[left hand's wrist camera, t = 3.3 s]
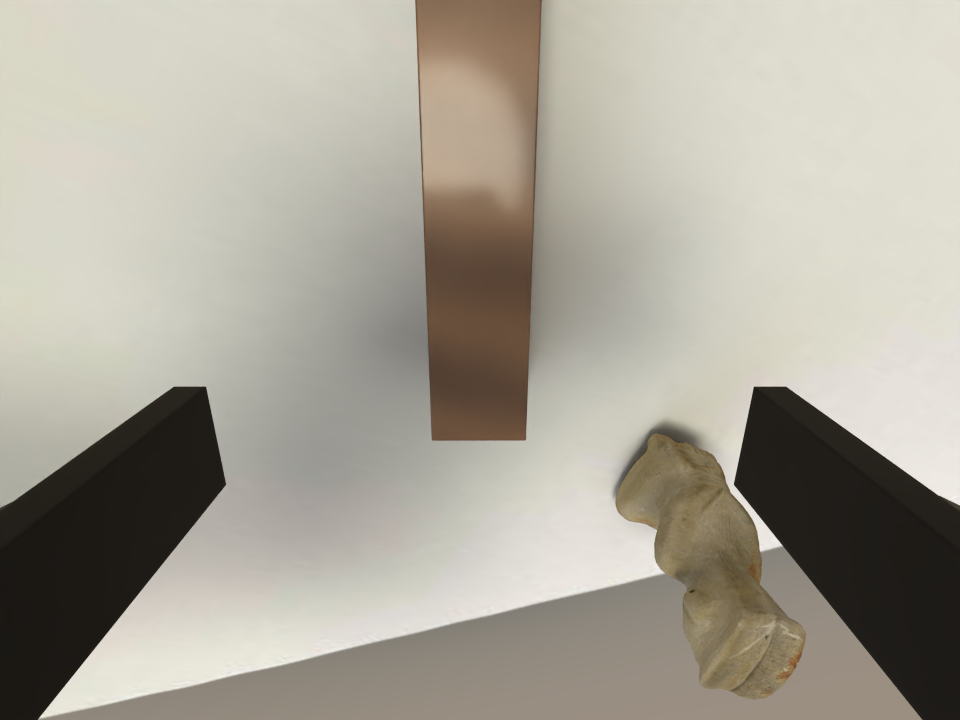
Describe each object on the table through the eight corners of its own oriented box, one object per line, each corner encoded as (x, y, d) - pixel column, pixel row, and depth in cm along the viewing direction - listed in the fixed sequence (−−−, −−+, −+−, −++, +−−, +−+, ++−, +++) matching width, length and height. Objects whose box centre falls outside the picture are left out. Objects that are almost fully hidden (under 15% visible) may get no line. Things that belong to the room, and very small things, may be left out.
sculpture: (596, 495, 37) (667, 693, 23) (644, 413, 35) (754, 577, 21) (666, 520, 38) (775, 725, 24) (717, 441, 36) (872, 618, 22)
